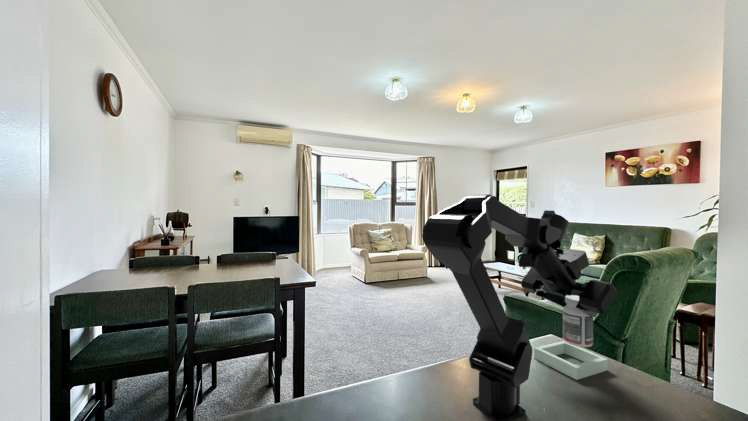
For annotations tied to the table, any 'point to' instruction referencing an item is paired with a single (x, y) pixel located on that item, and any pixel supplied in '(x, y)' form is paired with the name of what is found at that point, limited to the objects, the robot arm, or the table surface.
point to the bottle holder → (579, 371)
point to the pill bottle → (576, 324)
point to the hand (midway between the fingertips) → (581, 311)
